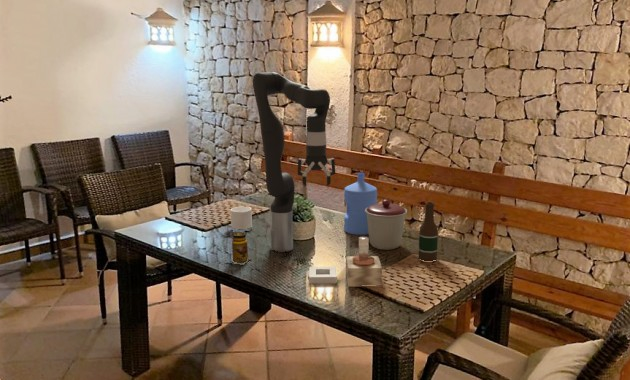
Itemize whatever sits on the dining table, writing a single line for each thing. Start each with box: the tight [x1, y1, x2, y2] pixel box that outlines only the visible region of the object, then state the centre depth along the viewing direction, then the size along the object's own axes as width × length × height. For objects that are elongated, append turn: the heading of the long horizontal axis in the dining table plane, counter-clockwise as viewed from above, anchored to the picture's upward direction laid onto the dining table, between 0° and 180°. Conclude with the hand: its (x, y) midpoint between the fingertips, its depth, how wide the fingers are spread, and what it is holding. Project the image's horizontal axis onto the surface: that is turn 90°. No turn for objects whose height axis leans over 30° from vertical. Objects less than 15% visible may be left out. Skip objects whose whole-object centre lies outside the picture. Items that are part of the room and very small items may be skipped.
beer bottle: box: [418, 201, 439, 261], centre depth 215 cm, size 8×8×24 cm
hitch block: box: [345, 255, 383, 287], centre depth 197 cm, size 12×12×7 cm
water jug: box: [343, 172, 378, 236], centre depth 253 cm, size 16×16×28 cm
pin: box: [353, 236, 374, 266], centre depth 196 cm, size 8×8×15 cm
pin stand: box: [308, 266, 338, 285], centre depth 200 cm, size 10×10×2 cm
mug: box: [230, 206, 253, 229], centre depth 259 cm, size 13×10×10 cm
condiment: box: [231, 232, 249, 263], centre depth 216 cm, size 7×8×12 cm
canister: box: [365, 199, 408, 251], centre depth 231 cm, size 18×18×21 cm
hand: (316, 185), depth 203 cm, fingers open, 8 cm apart
